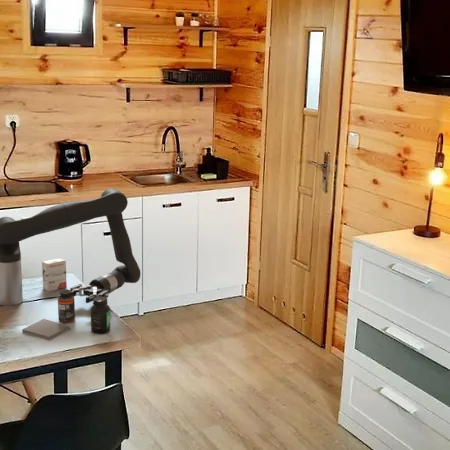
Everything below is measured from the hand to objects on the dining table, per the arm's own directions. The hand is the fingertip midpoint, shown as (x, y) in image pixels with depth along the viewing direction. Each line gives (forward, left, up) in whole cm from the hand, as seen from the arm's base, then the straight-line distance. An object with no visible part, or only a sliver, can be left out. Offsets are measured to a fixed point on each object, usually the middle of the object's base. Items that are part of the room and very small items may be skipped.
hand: (77, 298), depth 262 cm
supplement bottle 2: (+16, -7, -7) cm, 19 cm away
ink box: (-26, +18, -7) cm, 32 cm away
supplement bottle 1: (0, -6, -7) cm, 9 cm away
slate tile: (0, -17, -7) cm, 18 cm away
